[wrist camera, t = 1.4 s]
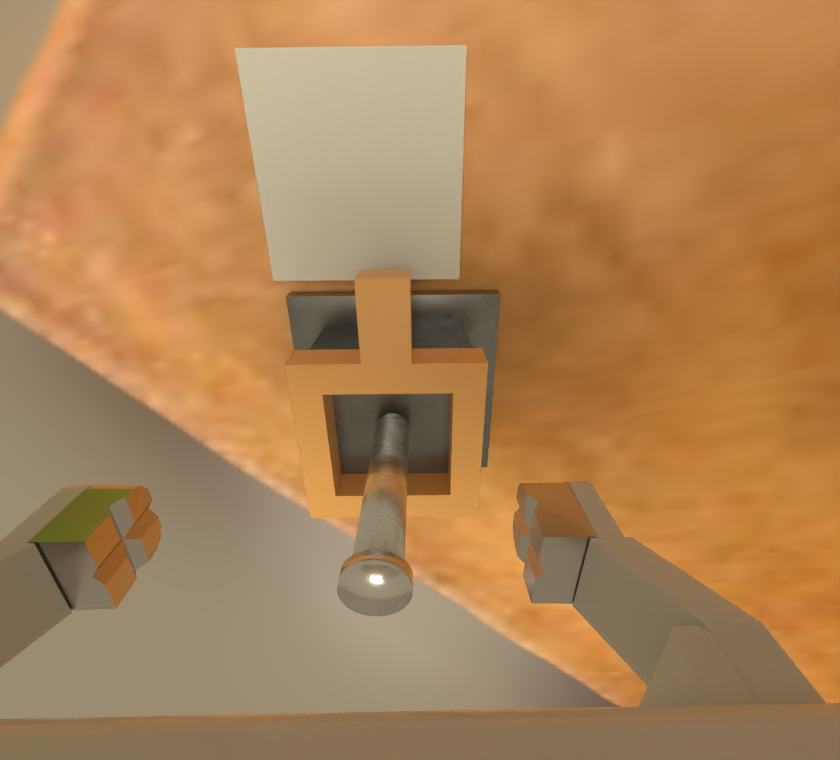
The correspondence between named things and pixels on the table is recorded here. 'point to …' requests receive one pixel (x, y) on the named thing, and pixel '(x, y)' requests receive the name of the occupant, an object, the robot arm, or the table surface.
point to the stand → (393, 428)
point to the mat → (358, 157)
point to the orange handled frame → (388, 374)
